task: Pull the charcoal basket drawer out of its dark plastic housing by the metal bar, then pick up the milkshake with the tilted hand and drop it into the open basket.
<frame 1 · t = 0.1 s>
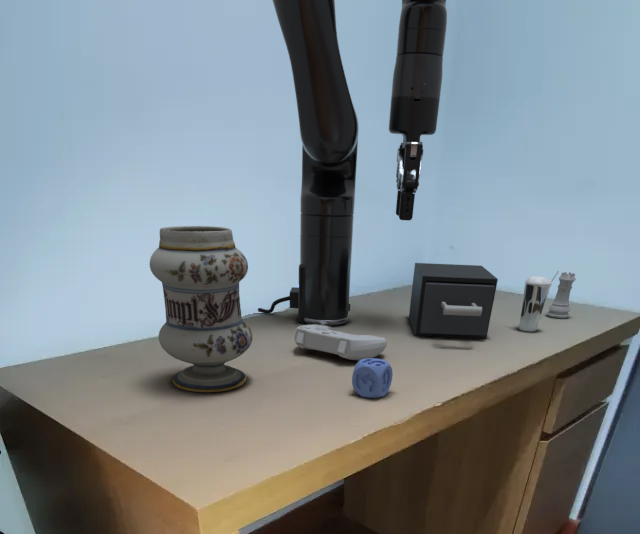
hand: (403, 217, 98), 17 cm above the table, tool pointing down, fingers open, 8 cm apart
apothecary jar: (209, 382, 78), on the table
small filing cabinet: (445, 327, 107), on the table
decorative dice: (370, 394, 76), on the table
drawer: (453, 305, 100), point 5 cm above the table, slide at 0.5 cm
milkshake: (529, 330, 107), on the table
game controller: (336, 355, 90), on the table
rook chess piece: (557, 317, 118), on the table
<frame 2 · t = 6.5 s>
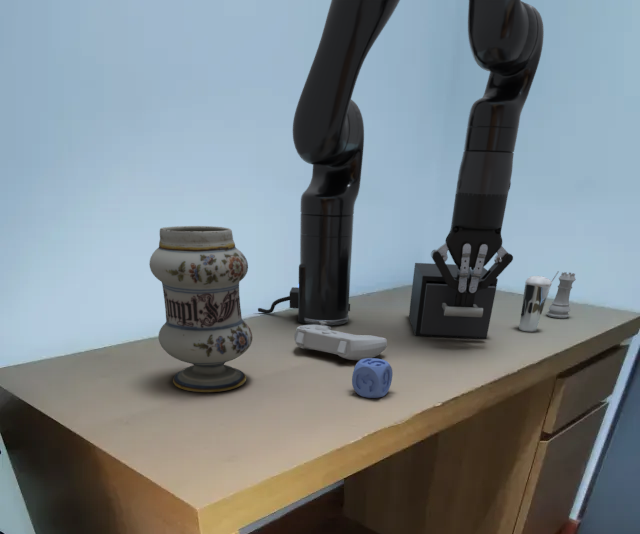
hand: (461, 316, 93), 5 cm above the table, tool pointing down, fingers closed
drawer: (454, 306, 99), point 5 cm above the table, slide at 1.4 cm, touching gripper
everything else where it was.
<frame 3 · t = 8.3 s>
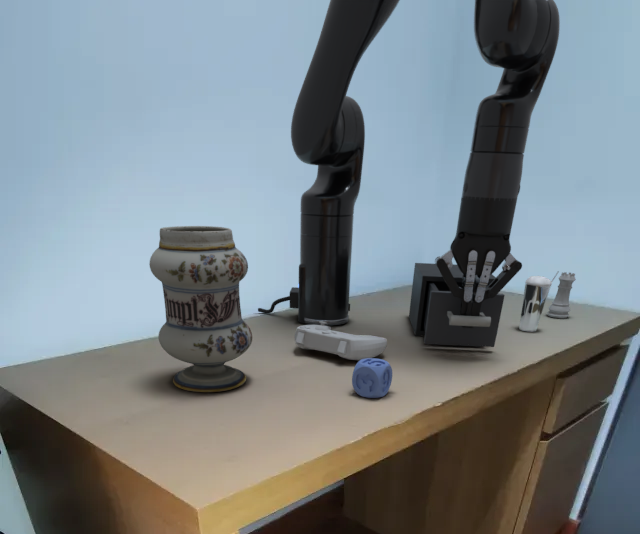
hand: (466, 326, 88), 5 cm above the table, tool pointing down, fingers closed
drawer: (459, 314, 94), point 5 cm above the table, slide at 7.7 cm, touching gripper
everything else where it was.
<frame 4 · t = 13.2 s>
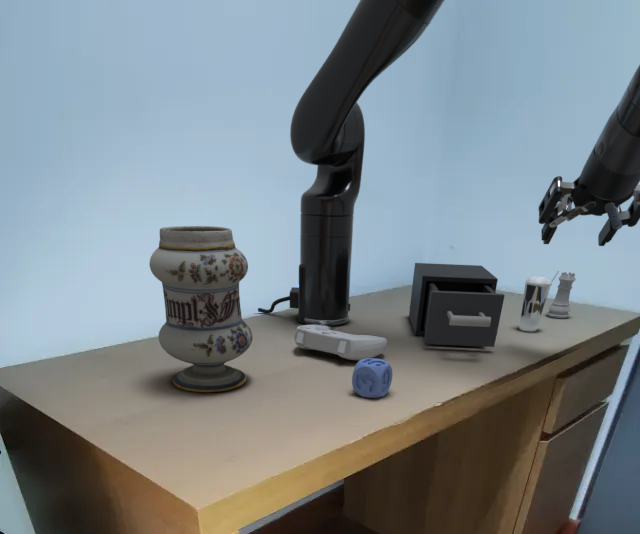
hand: (572, 240, 89), 16 cm above the table, tool tilted 45°, fingers open, 8 cm apart
drawer: (459, 314, 94), point 5 cm above the table, slide at 7.8 cm
everything else where it was.
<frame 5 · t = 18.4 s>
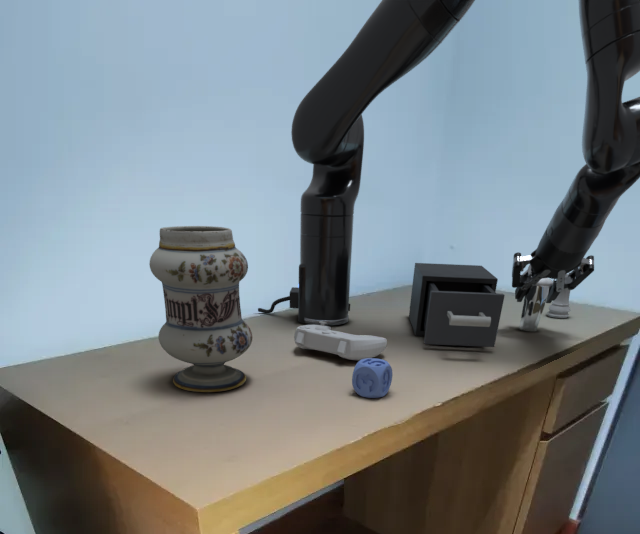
hand: (533, 298, 106), 5 cm above the table, tool tilted 45°, fingers closed on milkshake, 4 cm apart
milkshake: (529, 330, 107), on the table, touching gripper
everything else where it was.
when the fingers open (10 cm above the table, at t = 43.5 s): milkshake moves 2 cm, resting on drawer.
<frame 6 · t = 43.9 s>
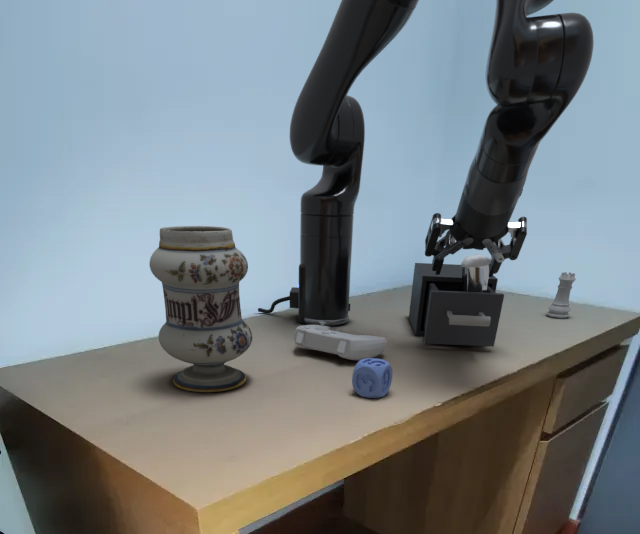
hand: (463, 271, 92), 11 cm above the table, tool tilted 45°, fingers open, 8 cm apart
drawer: (459, 314, 94), point 5 cm above the table, slide at 7.5 cm, touching milkshake
milkshake: (476, 317, 95), point 4 cm above the table, touching drawer, gripper
everything else where it was.
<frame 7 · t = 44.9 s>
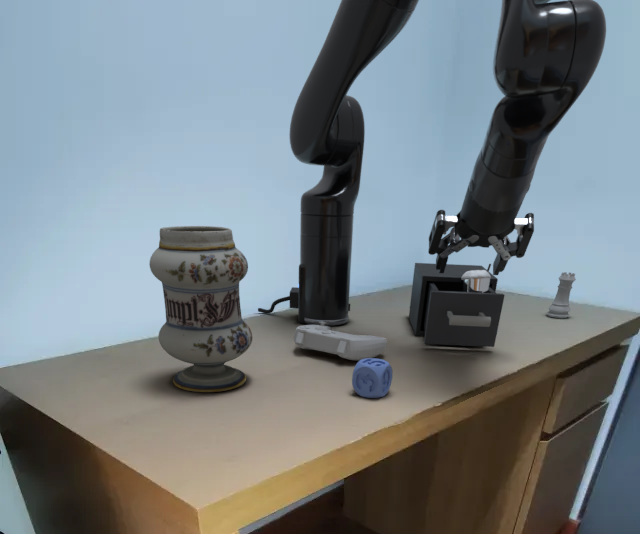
hand: (467, 269, 90), 12 cm above the table, tool tilted 45°, fingers open, 8 cm apart
milkshake: (473, 332, 95), point 2 cm above the table, touching drawer
everything else where it was.
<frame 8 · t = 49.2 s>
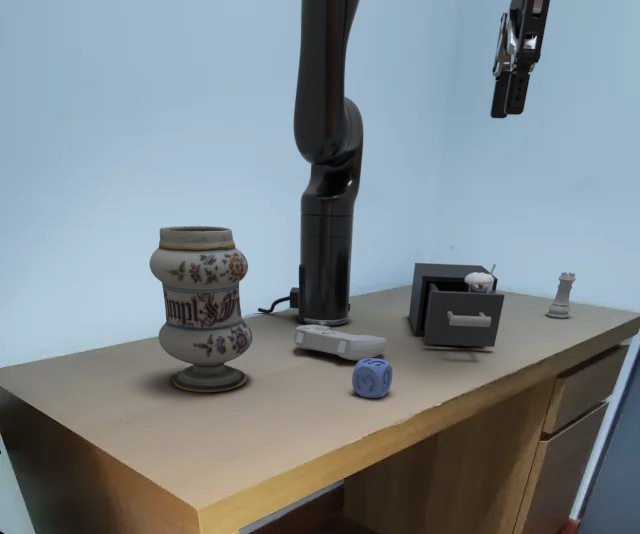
hand: (505, 116, 72), 30 cm above the table, tool pointing down, fingers open, 8 cm apart
at the end: drawer slide at 7.8 cm; milkshake inside the target area (2.9 cm from its centre), point 1.9 cm above the table; the gripper is holding nothing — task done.
